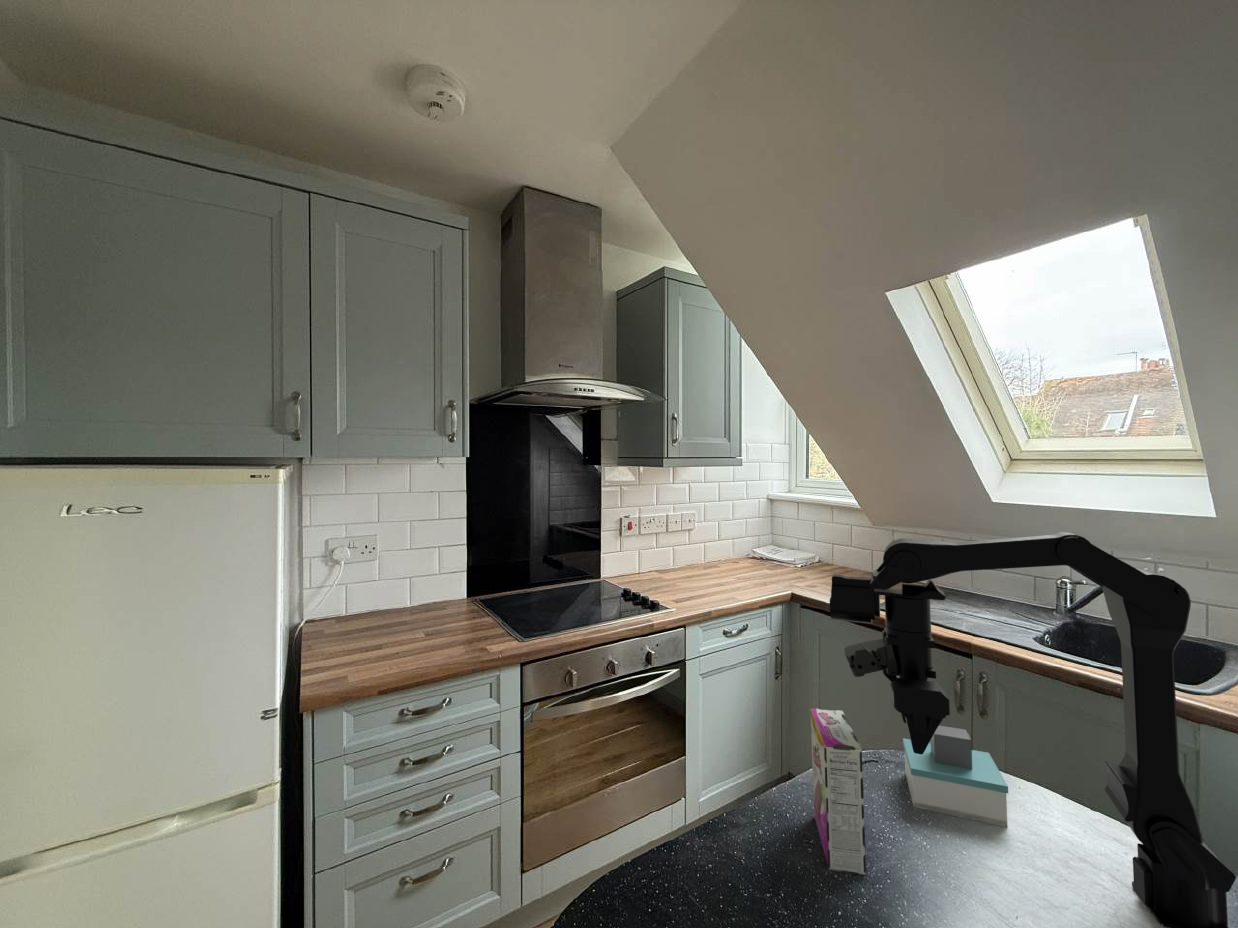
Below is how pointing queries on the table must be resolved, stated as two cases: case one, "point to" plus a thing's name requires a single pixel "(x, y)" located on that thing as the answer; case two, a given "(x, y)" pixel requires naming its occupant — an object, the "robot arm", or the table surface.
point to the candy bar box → (838, 791)
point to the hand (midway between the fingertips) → (912, 737)
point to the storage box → (957, 799)
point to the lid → (955, 761)
